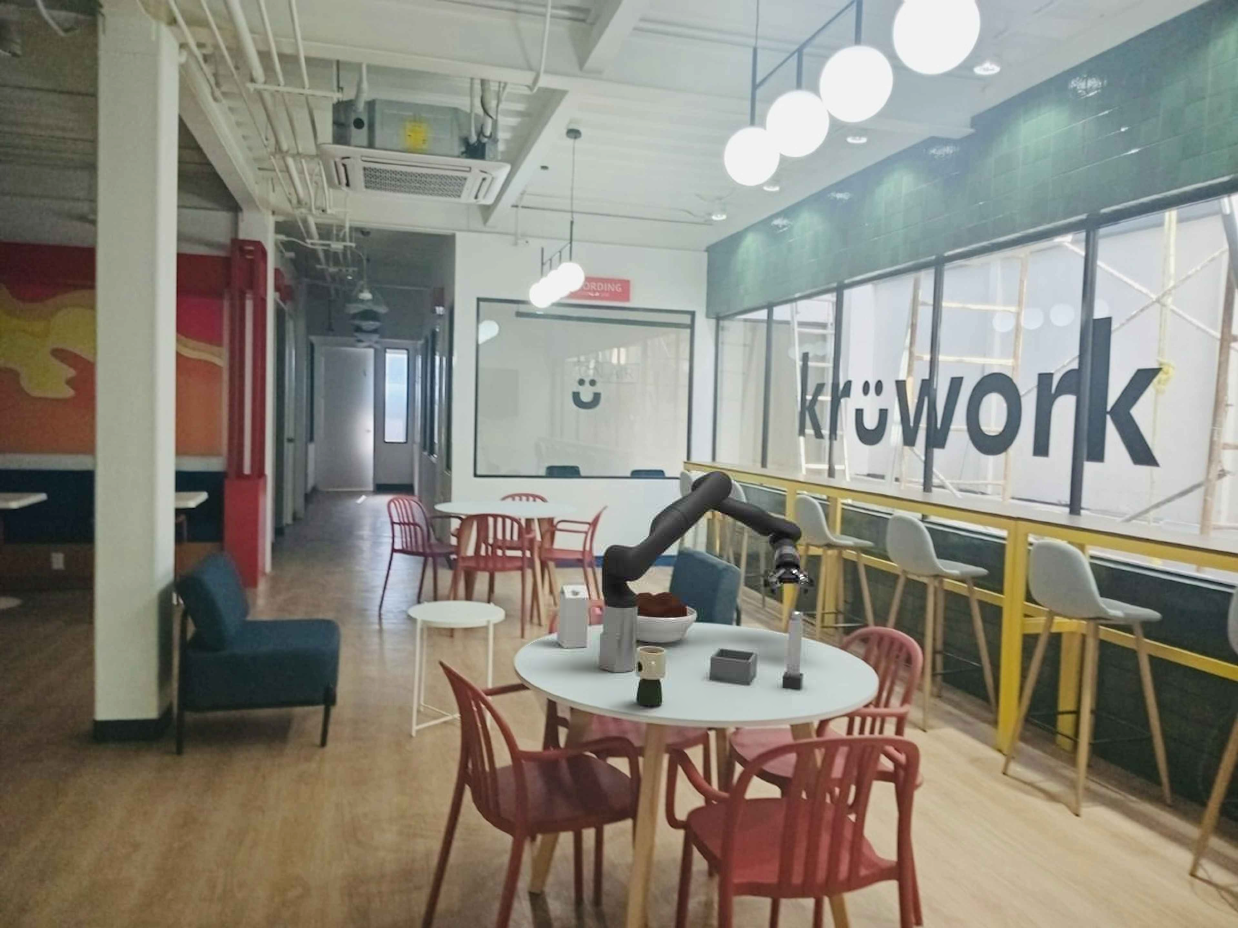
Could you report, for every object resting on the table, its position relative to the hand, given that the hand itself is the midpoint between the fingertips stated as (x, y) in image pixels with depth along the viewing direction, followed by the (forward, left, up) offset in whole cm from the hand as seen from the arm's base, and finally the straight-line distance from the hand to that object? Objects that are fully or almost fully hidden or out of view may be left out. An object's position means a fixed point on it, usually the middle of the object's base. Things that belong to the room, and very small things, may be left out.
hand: (789, 591), depth 242 cm
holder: (-20, +5, -21) cm, 29 cm away
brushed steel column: (-15, -10, -21) cm, 28 cm away
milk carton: (-29, +56, -22) cm, 66 cm away
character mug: (-55, +6, -22) cm, 59 cm away
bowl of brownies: (-4, +44, -22) cm, 49 cm away
